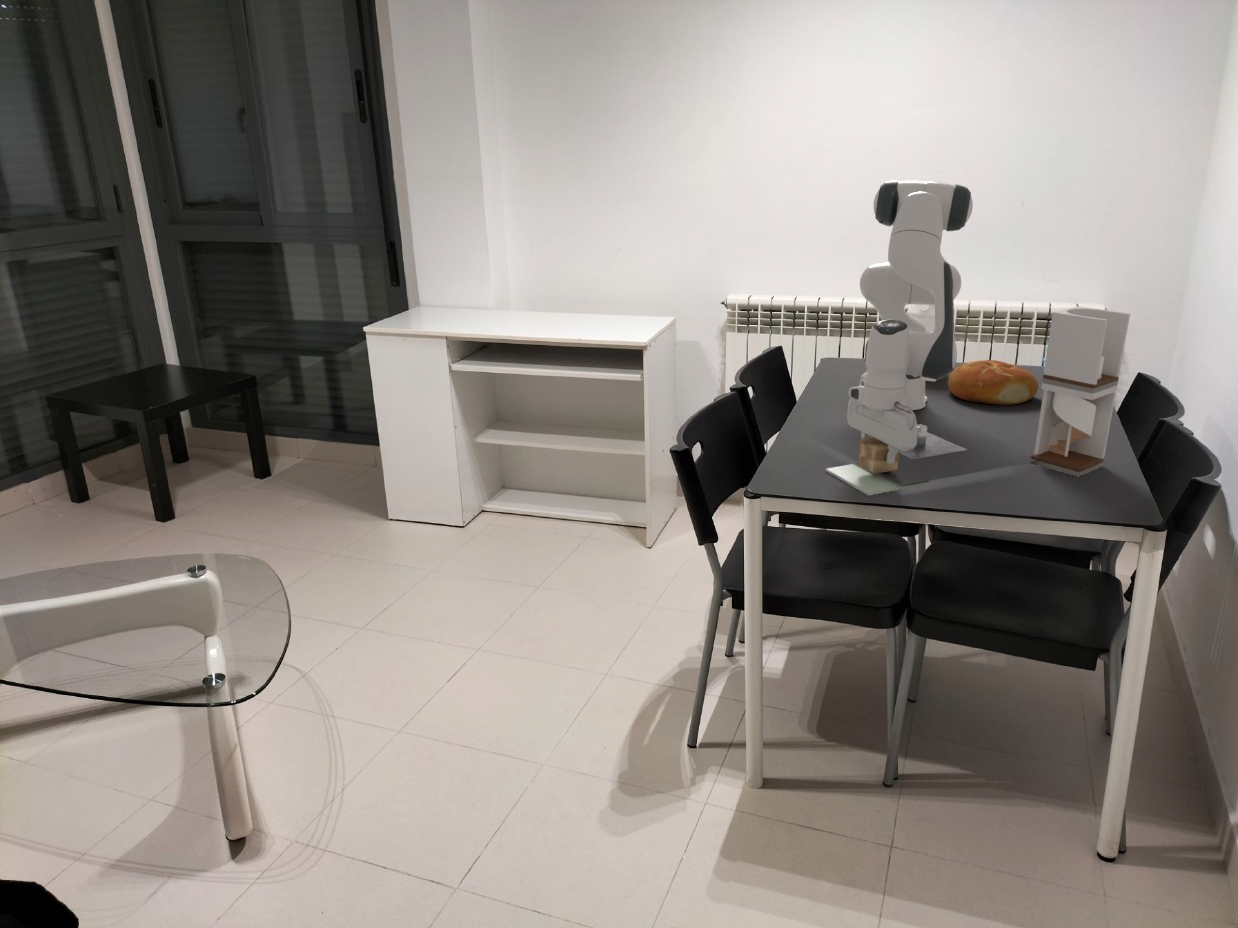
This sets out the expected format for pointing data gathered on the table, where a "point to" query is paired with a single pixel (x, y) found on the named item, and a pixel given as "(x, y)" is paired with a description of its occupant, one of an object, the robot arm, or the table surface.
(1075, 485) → the table surface
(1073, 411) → the white tall layered tower
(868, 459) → the oak block
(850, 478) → the sage mat
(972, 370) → the bread
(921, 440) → the post mount
